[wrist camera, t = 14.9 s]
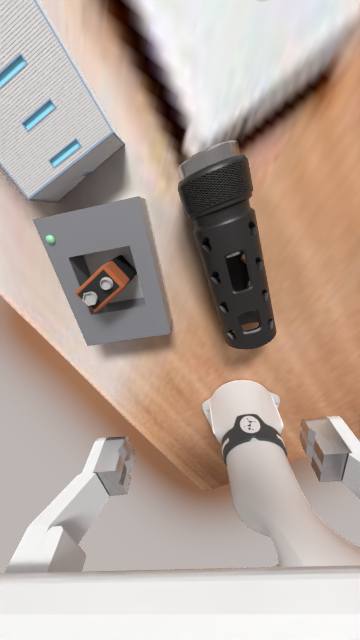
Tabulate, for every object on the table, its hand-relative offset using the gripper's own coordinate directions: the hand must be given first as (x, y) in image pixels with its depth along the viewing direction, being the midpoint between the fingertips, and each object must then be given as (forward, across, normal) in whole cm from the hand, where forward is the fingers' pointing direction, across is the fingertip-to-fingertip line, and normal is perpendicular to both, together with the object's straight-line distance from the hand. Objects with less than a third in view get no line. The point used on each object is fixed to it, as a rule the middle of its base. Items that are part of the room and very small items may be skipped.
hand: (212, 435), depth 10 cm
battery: (+32, +14, -2) cm, 35 cm away
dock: (+33, +14, -2) cm, 36 cm away
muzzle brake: (+34, -6, -2) cm, 34 cm away
